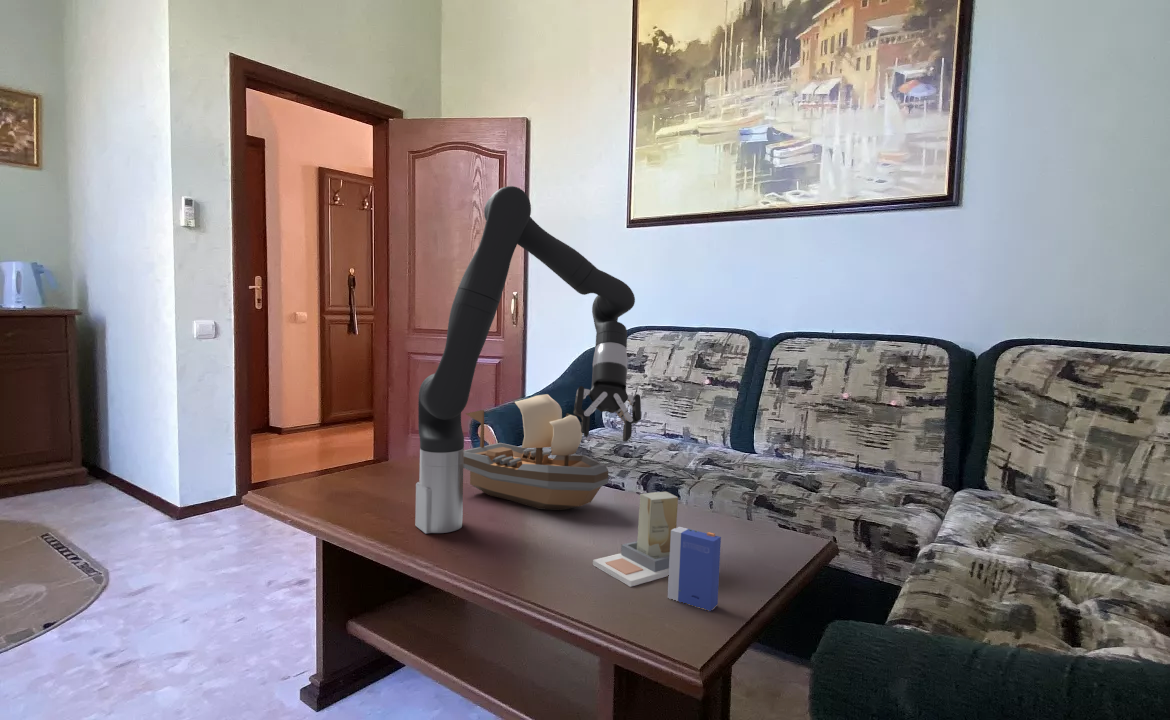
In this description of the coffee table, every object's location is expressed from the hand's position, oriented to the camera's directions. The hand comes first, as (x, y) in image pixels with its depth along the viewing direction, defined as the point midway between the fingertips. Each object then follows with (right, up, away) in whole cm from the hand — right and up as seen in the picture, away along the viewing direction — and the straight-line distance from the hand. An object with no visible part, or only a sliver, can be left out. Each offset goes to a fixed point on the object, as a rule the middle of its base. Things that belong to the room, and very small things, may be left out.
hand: (606, 438), depth 132 cm
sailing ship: (-19, -19, +27) cm, 38 cm away
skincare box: (+9, -22, -12) cm, 26 cm away
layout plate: (+7, -22, -14) cm, 27 cm away
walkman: (+13, -24, -28) cm, 39 cm away
